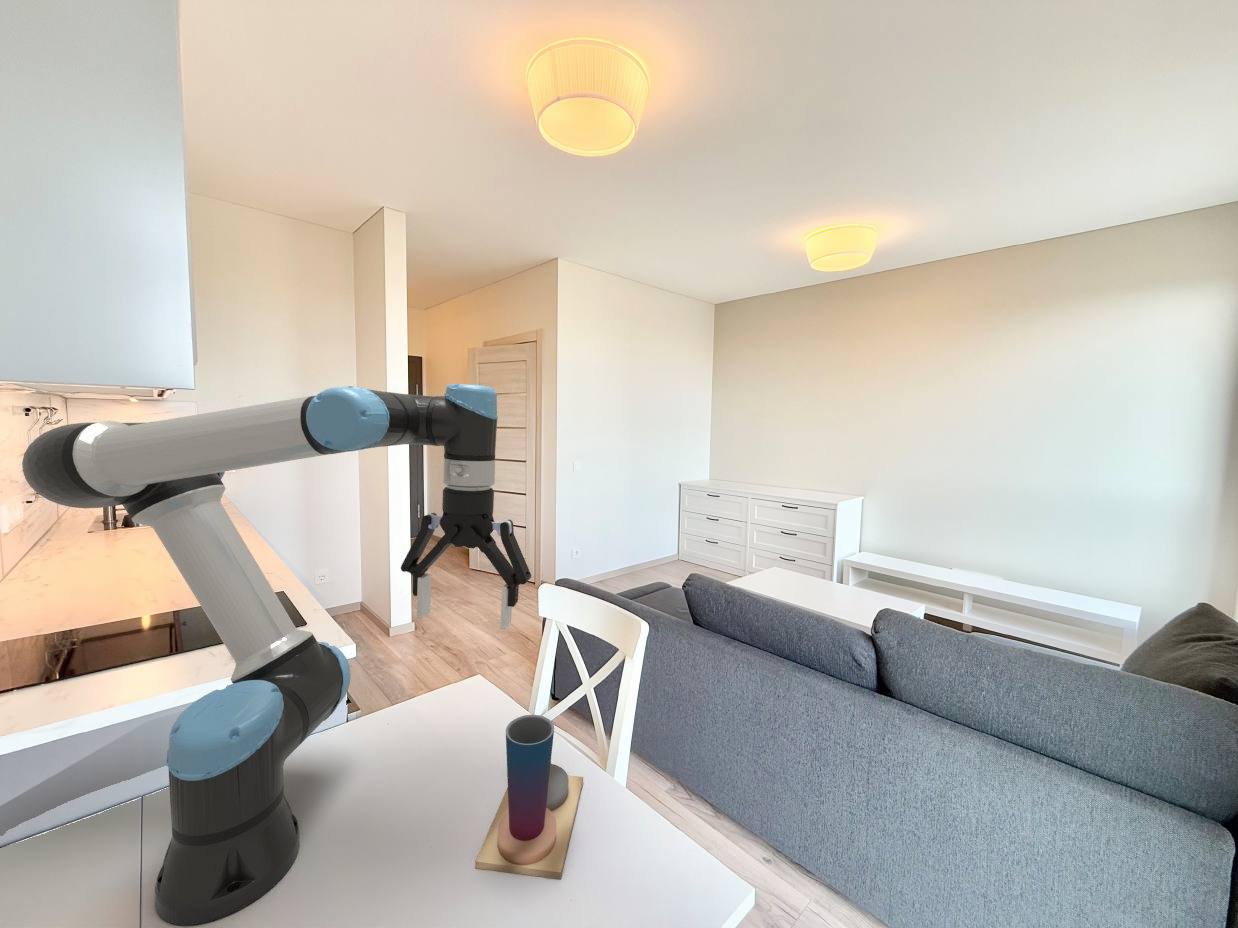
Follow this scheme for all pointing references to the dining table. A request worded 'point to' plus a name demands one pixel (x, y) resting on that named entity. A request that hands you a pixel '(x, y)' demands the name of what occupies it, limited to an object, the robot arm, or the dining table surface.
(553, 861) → the stand board
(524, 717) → the cup
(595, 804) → the dining table surface
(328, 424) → the robot arm
